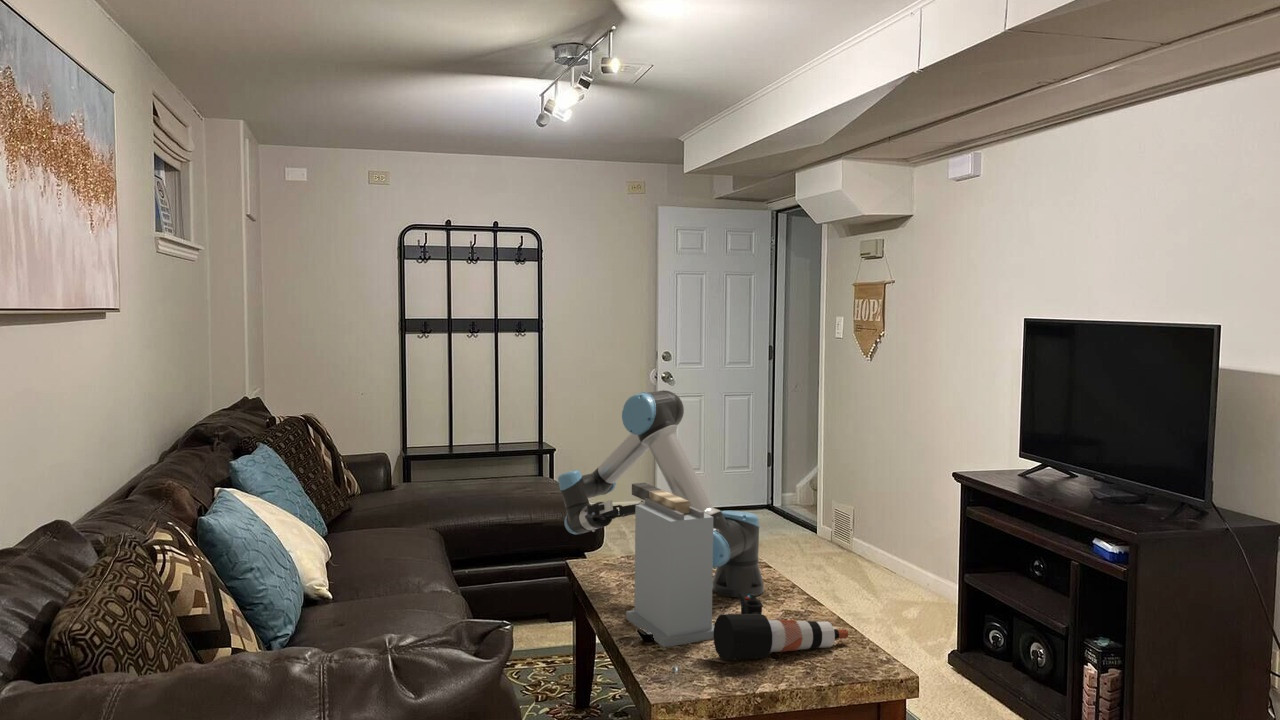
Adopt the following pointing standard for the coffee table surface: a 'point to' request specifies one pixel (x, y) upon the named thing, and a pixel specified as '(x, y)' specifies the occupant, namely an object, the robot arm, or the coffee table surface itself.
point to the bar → (661, 497)
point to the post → (673, 574)
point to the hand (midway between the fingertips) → (632, 504)
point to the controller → (750, 603)
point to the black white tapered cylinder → (769, 636)
